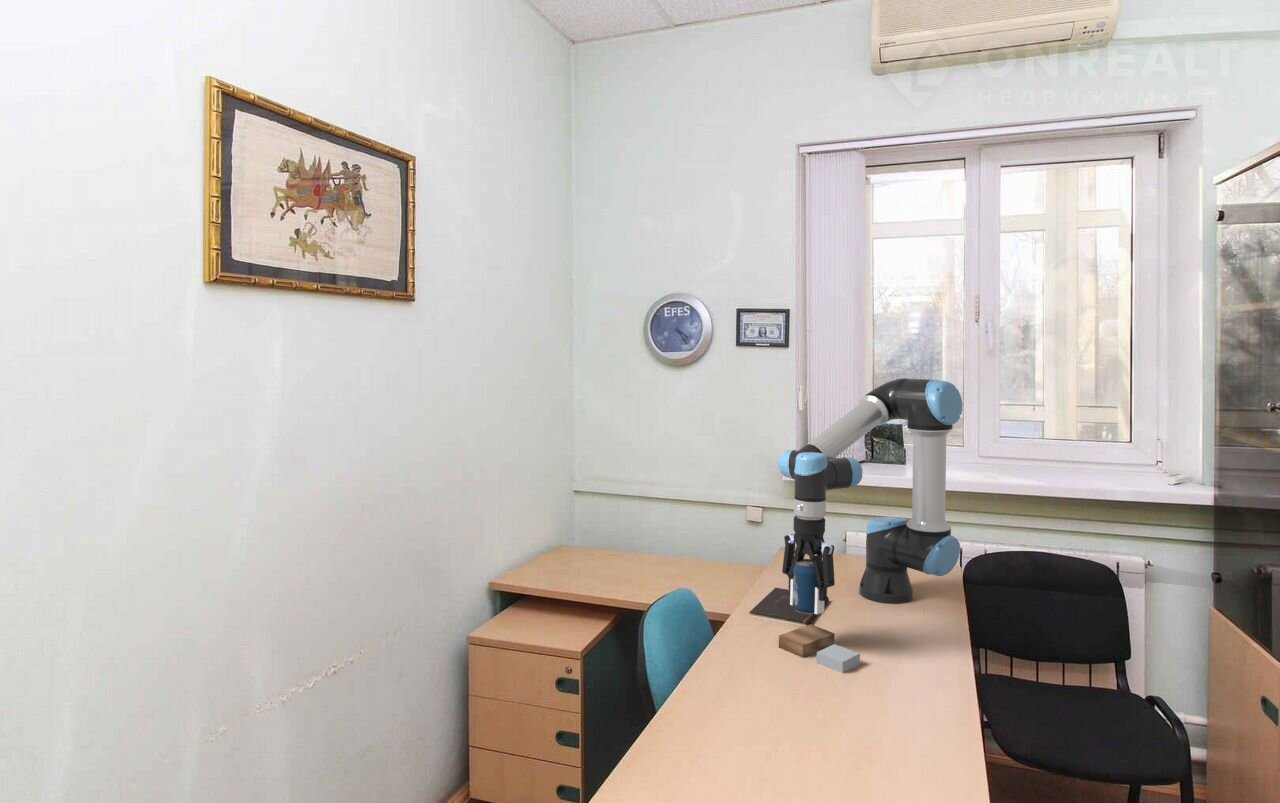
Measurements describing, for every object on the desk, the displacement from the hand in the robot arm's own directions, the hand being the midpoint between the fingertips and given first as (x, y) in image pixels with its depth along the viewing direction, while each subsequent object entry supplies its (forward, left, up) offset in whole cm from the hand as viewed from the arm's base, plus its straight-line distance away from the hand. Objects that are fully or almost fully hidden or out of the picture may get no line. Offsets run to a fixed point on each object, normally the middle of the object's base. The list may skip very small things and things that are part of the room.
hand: (806, 608), depth 183 cm
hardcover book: (-16, -19, -10) cm, 27 cm away
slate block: (+2, +11, -10) cm, 15 cm away
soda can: (0, 0, -1) cm, 1 cm away
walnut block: (0, 0, -10) cm, 10 cm away
